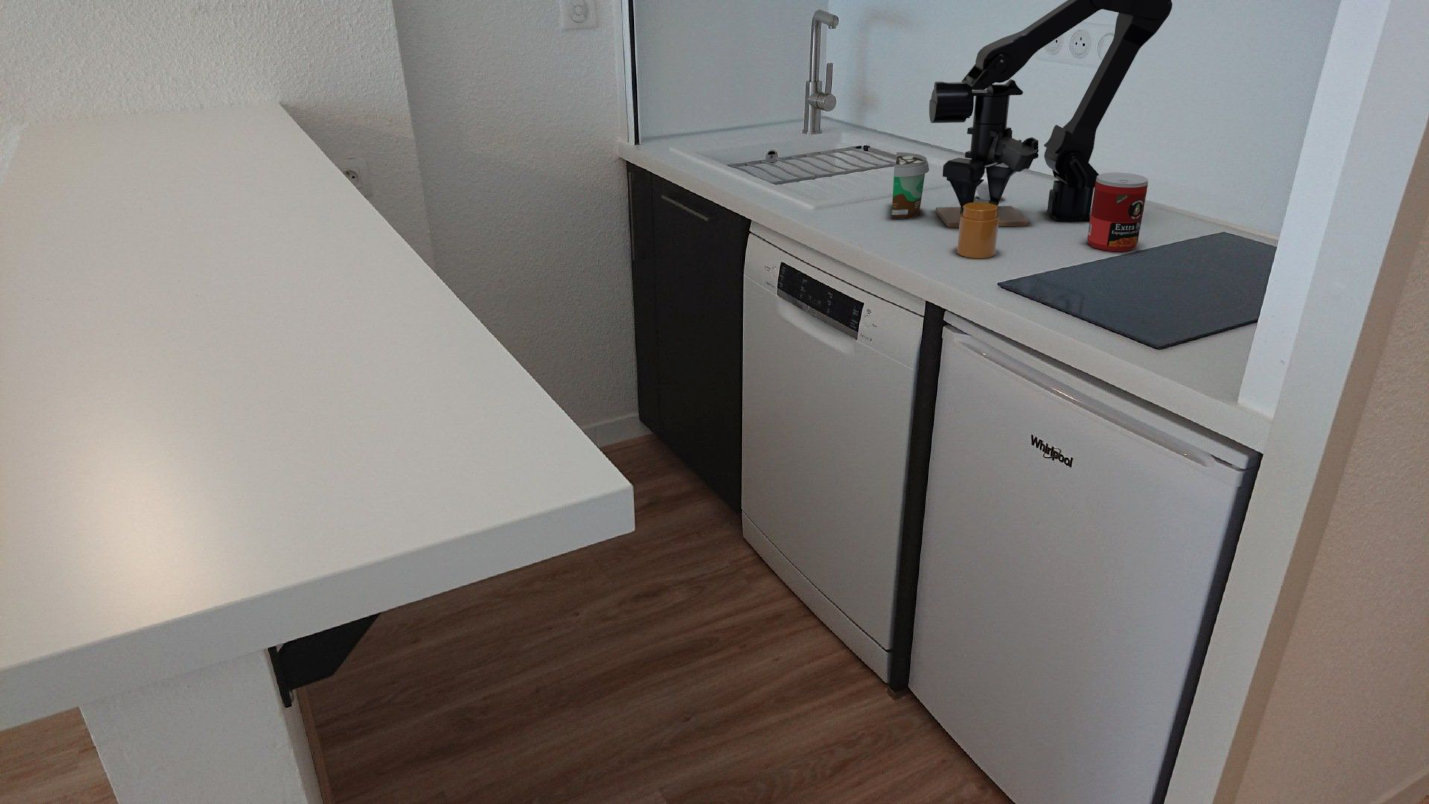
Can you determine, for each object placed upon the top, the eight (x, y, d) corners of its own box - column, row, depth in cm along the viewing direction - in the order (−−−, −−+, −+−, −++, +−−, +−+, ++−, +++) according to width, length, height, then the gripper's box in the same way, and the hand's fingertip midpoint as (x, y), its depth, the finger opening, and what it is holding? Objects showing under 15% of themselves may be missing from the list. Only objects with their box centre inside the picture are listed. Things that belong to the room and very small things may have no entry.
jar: (990, 247, 156) (995, 201, 153) (999, 257, 151) (1004, 210, 148) (953, 247, 156) (957, 201, 153) (961, 258, 151) (965, 211, 148)
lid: (964, 218, 169) (965, 208, 168) (956, 209, 175) (957, 199, 174) (1001, 218, 169) (1002, 207, 168) (992, 208, 175) (993, 198, 174)
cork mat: (1010, 210, 177) (1011, 205, 177) (1027, 225, 167) (1028, 221, 167) (935, 211, 177) (935, 207, 177) (948, 227, 167) (948, 222, 167)
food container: (925, 222, 171) (930, 165, 167) (891, 220, 172) (894, 165, 168) (926, 205, 182) (930, 151, 177) (893, 204, 183) (896, 151, 179)
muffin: (1011, 200, 183) (1016, 164, 180) (985, 204, 181) (989, 167, 178) (991, 194, 188) (995, 158, 185) (965, 197, 186) (969, 161, 183)
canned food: (1111, 254, 151) (1123, 185, 146) (1075, 241, 158) (1085, 175, 153) (1148, 248, 154) (1160, 179, 149) (1111, 236, 160) (1122, 170, 156)
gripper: (1003, 134, 154) (993, 229, 161) (1059, 119, 165) (1047, 208, 172) (944, 127, 161) (937, 218, 168) (1002, 113, 173) (993, 198, 179)
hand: (981, 210), depth 172 cm, fingers open, 9 cm apart
